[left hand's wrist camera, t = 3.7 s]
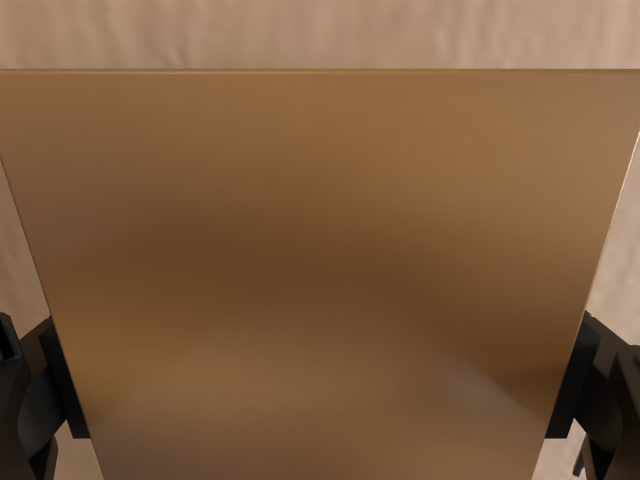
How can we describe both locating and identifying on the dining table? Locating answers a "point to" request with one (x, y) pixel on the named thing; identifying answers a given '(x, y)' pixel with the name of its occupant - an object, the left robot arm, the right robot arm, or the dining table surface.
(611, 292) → the dining table surface
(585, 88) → the wide beam
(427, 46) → the dining table surface
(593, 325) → the left robot arm
